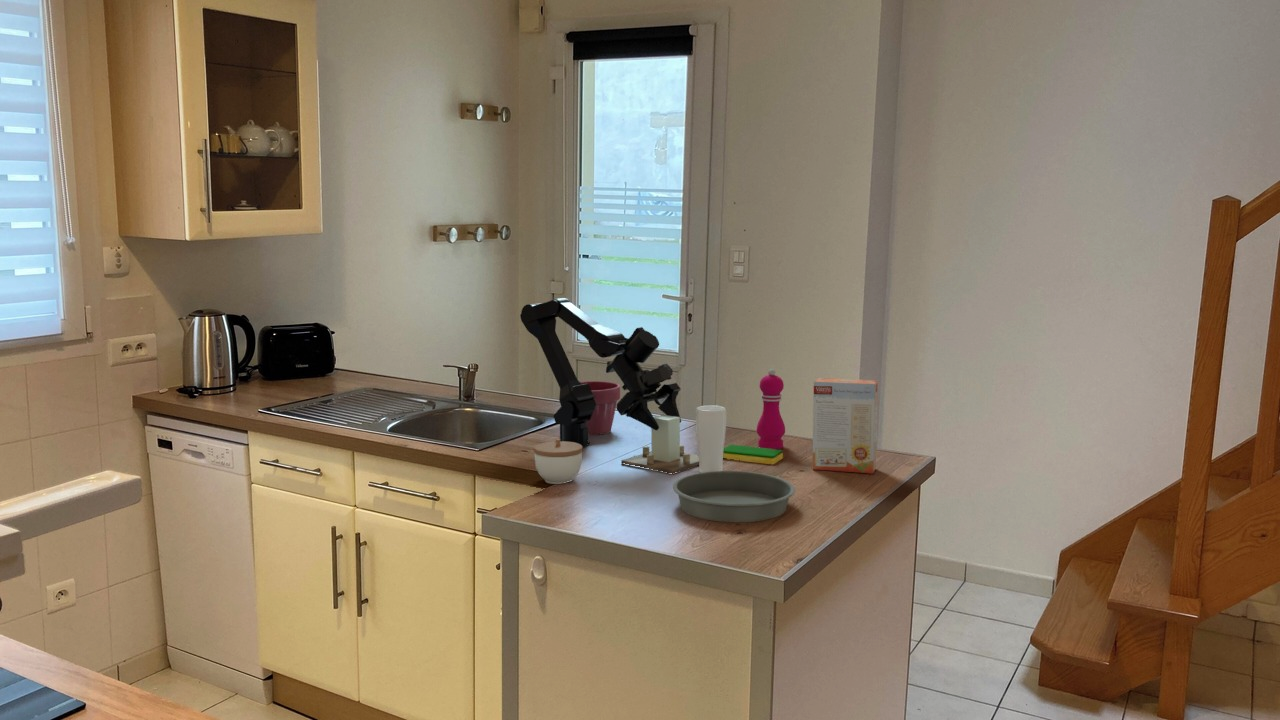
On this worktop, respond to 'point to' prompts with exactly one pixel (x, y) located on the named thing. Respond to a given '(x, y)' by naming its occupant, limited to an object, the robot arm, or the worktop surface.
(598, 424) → the plant pot
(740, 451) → the dish sponge
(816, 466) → the cracker box
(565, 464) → the lidded jar
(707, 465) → the drinking glass
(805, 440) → the worktop surface
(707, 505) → the cake pan
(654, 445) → the sage block
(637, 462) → the peg stand
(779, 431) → the pepper mill
